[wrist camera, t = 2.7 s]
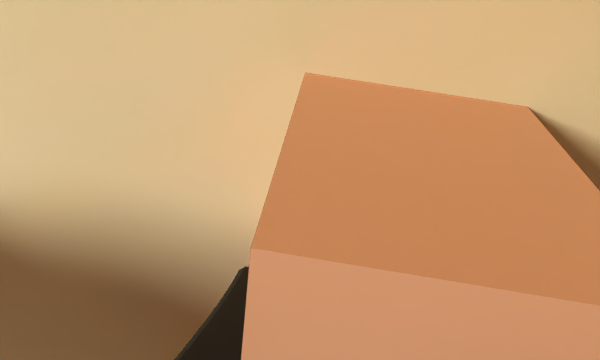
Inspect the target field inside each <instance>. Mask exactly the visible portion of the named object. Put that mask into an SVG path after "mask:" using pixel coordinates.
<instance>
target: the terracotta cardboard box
mask: <svg viewBox="0 0 600 360" xmlns="http://www.w3.org/2000/svg"><path fill="white" fill-rule="evenodd" d="M241 360H600V191H599V190H598V188H597V187H596V186H595V185H594V184H593V183H592V181H591V180H590V179H589V178H588V177H587V176H586V174H585V173H584V172H583V171H582V170H581V169H580V167H579V166H578V165H577V164H576V163H575V162H574V160H573V159H572V158H571V157H570V156H569V155H568V153H567V152H566V151H565V150H564V149H563V148H562V146H561V145H560V144H559V143H558V142H557V141H556V139H555V138H554V137H553V136H552V135H551V134H550V132H549V131H548V130H547V129H546V128H545V127H544V125H543V124H542V123H541V122H540V121H539V120H538V118H537V117H536V116H535V115H534V114H533V113H532V111H531V110H530V109H529V108H528V107H525V106H519V105H512V104H506V103H499V102H493V101H486V100H480V99H473V98H467V97H460V96H454V95H447V94H441V93H434V92H428V91H421V90H415V89H408V88H402V87H395V86H389V85H382V84H376V83H369V82H363V81H356V80H350V79H343V78H337V77H330V76H324V75H317V74H311V73H305V75H304V78H303V81H302V85H301V88H300V91H299V94H298V97H297V101H296V104H295V107H294V110H293V114H292V117H291V120H290V123H289V126H288V130H287V133H286V136H285V139H284V143H283V146H282V149H281V152H280V155H279V159H278V162H277V165H276V168H275V171H274V175H273V178H272V181H271V184H270V188H269V191H268V194H267V197H266V200H265V204H264V207H263V210H262V213H261V216H260V220H259V223H258V226H257V229H256V233H255V236H254V239H253V242H252V245H251V250H250V262H249V273H248V285H247V296H246V308H245V320H244V331H243V343H242V354H241Z"/></svg>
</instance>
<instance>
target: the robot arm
mask: <svg viewBox="0 0 600 360" xmlns="http://www.w3.org/2000/svg"><path fill="white" fill-rule="evenodd" d="M248 273H249V267H244V268H242V269H240V270H239V271H238V273H237V275H236V277H235V279H234V280H233V282H232V284H231V285H230V287H229V288H228V290H227V291H226V293H225V294H224V296H223V297H222V299H221V300H220V302H219V303H218V305H217V306H216V307H215V309H214V310H213V312H212V313H211V314H210V316H209V317H208V318H207V320H206V321H205V322H204V324H203V325H202V326H201V327H200V329H199V330H198V331H197V332H196V334H195V335H194V336H193V337H192V339H191V340H190V341H189V343H188V344H187V345H186V346H185V348H184V349H183V350H182V351H181V352H180V354H179V355H178V356H177V357H176V358H175V360H241V354H242V343H243V331H244V320H245V308H246V296H247V285H248Z"/></svg>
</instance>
